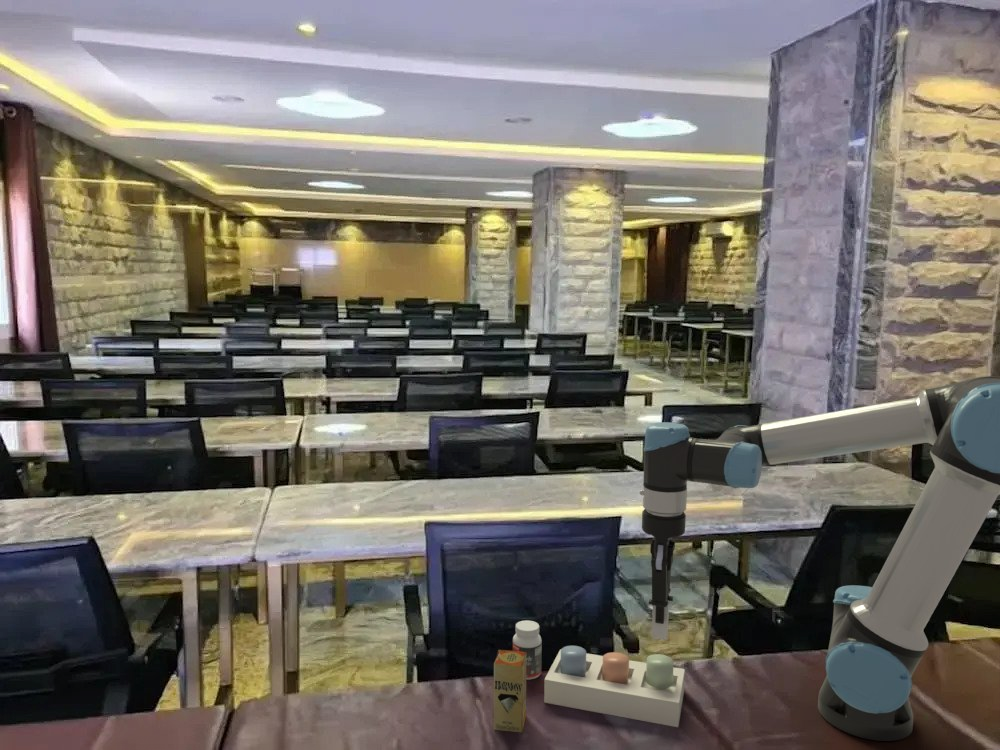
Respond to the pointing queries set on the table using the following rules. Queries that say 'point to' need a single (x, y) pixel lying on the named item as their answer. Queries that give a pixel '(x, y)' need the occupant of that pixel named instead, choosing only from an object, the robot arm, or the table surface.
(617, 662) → the button terracotta
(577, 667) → the button slateblue
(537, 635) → the pill bottle
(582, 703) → the panel
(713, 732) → the table surface
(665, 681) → the button sage
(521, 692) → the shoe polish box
